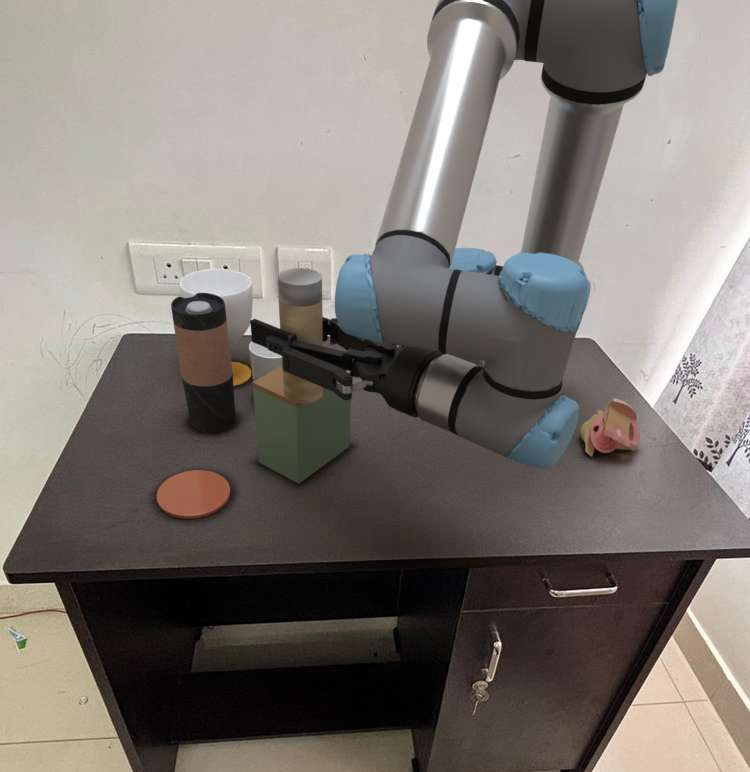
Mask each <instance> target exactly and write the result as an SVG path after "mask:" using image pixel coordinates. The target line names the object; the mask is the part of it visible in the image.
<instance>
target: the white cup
mask: <svg viewBox="0 0 750 772" xmlns="http://www.w3.org/2000/svg"><path fill="white" fill-rule="evenodd" d="M248 351H249V357H250V358H249V359H250V366H251V368H250V369H251V376H252V380H253V381H255V380H257V379H259V378H261V377H262V376H264V375H266V374H268V373H270V372H272V371H274V370H275V369H277V368H279V367H281V366H282V356H281V355H278V354H276V353H274V352H271V351H269V350H268V349H267V348H265V347H263V346H261V345H258V344H256V343H254V342H252V341H250V342H249V344H248ZM253 381H252V382H253Z"/></svg>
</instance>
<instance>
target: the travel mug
mask: <svg viewBox="0 0 750 772" xmlns="http://www.w3.org/2000/svg"><path fill="white" fill-rule="evenodd" d="M170 309H171V316H172V323H173V329H174V336H175V343H176V349H177V354H178V362H179V369H180V375H181V381H182V385H183V391H184V396H185V401H186V406H187V412H188V417H189V420H190V425H191V427H192V428H193V429H194V430H196V431H198V432H200V433H203V434H204V433H205V434H218V433H223V432H225V431H228V430H229V429H231V428H232V427H233V426H234V425H235V424H236V403H235V386H233V372H232V363H231V361H232V355H231V347H230V343H229V336H228V327H227V319H226V309H225V303H224V300H223V299H222V298H221V297H219V296H217V295H214V294H210V293H197V294H196V295H195V296H193V297H189V298H183V297H181V295H179V296H177V297H175V298H174V299H173V300H172V301H171V303H170Z"/></svg>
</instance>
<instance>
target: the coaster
mask: <svg viewBox="0 0 750 772" xmlns="http://www.w3.org/2000/svg"><path fill="white" fill-rule="evenodd" d="M230 498H231V486H230V483H229V481H228V480H227V479H226V478H225V477H224V476H223V475H221V474H219V473H217V472H214V471H211V470H205V469H193V470H187V471H182V472H179V473H176V474H174V475H172V476H170V477H169V478H167V479H166V480H164V482H163V481H162V483H161V485H160V486H159V487H158V489H157V492H156V502H157V505H158V508H160V510H161V511H162V512H163V513H165V514H166V515H168V516H171V517H173V518H176V519H182V520H196V519H201V518H205V517H209V516H210V515H213V514H215V513H217V512H219V511H220V510H222V508H224V507H225V506H226V505H227V504H228V502H229V500H230Z"/></svg>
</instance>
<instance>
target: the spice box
mask: <svg viewBox="0 0 750 772" xmlns="http://www.w3.org/2000/svg"><path fill="white" fill-rule="evenodd" d="M251 386H252V396H253V407H254V408H253V410H254V421H255V433H256V445H257V458H258V459H257V460H258V463H259V464H261V465H263V466H265V467H266V468H269V469H271V470H272V471H274V472H276V473H278V474H280V475H281V476H283V477H285V478H288V479H289V480H291V481H293V482H294V483H296V484H300V483H302V482H303V481H305V480H306V479H308V478H309V477H310V476H312V475H313V474H314V473H316V472H317V471H318V470H320V469H321V468H322V467H324V466H325V465H327V464H328V463H329V462H331V461H332V460H333V459H335V458H336V457H338V456H339V455H340V454H342V453H343V452H344V451H345V450H347V449H348V448H349V447H350V437H351V435H350V434H351V433H350V431H351V409H352V407H351V405H352V404H351V403H352V402H351V401H352V399H350V400H343V399H341V398H340V397H339V396H338V395H337V394H335V393H334V392H333V391H330V390H328V389H326V388H323V396H322V397H321V398H320V399H319V400H317V401H315V402H311V403H296V402H292V401H290V400H288V399H287V398H286V397H285V396H284V389H283V371H282V366H281V367H279V368H277V369H275V370H274V371H272V372H270V373H268V374H266V375H264V376H262V377H261V378H259V379H257V380H255V381H252V383H251Z"/></svg>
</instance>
